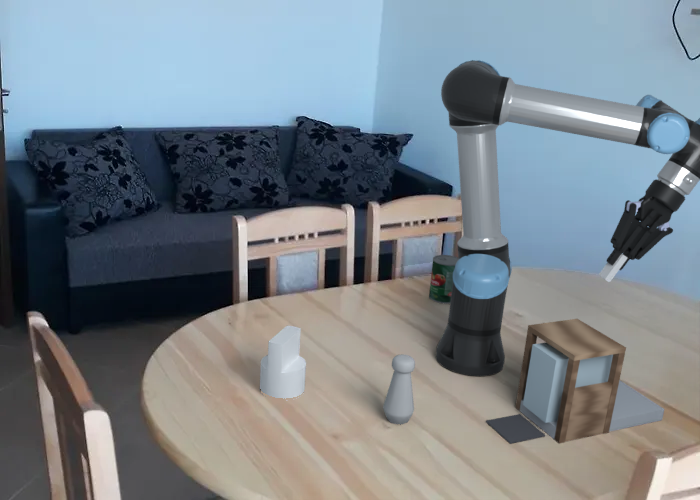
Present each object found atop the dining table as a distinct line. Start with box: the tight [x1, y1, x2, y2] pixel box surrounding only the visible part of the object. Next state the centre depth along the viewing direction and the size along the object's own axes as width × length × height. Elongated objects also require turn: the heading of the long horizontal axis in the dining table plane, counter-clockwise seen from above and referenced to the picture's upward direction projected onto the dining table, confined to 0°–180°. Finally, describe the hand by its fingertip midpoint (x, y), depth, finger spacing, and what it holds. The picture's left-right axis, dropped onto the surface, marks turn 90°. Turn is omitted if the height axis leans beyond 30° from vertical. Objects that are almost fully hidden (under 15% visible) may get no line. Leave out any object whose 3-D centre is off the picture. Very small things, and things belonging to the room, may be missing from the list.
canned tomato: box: [428, 254, 458, 305], centre depth 207 cm, size 8×8×11 cm
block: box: [523, 342, 613, 423], centre depth 149 cm, size 14×7×13 cm, turn 115°
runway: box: [519, 380, 665, 440], centre depth 155 cm, size 26×13×2 cm, turn 115°
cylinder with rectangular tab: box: [259, 325, 307, 399], centre depth 154 cm, size 9×9×12 cm
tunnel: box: [514, 318, 627, 444], centre depth 149 cm, size 12×14×18 cm
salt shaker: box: [382, 354, 416, 426], centre depth 146 cm, size 6×6×13 cm
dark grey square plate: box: [485, 413, 546, 445], centre depth 147 cm, size 8×8×1 cm
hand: (604, 278), depth 168 cm, fingers closed
